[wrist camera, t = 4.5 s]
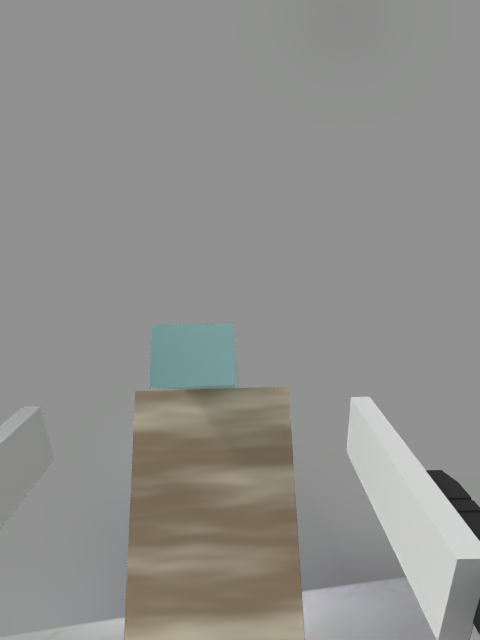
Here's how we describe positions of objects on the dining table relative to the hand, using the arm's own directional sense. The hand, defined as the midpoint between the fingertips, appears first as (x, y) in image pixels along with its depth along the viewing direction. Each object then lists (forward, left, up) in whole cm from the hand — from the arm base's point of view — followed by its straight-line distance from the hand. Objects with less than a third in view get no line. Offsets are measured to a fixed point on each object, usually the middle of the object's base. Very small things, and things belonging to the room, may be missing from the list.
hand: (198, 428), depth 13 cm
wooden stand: (-12, +12, -28) cm, 33 cm away
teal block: (-10, +10, +2) cm, 14 cm away
